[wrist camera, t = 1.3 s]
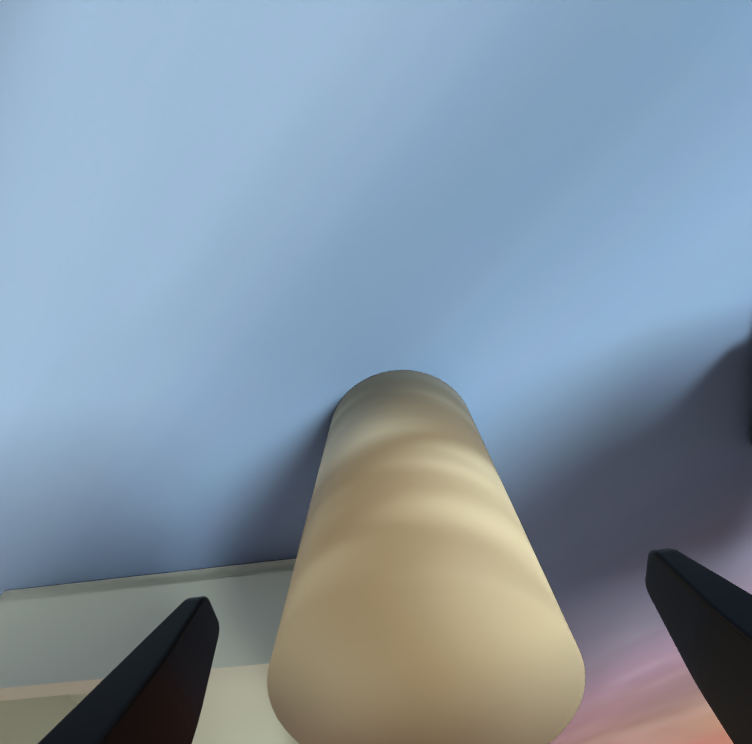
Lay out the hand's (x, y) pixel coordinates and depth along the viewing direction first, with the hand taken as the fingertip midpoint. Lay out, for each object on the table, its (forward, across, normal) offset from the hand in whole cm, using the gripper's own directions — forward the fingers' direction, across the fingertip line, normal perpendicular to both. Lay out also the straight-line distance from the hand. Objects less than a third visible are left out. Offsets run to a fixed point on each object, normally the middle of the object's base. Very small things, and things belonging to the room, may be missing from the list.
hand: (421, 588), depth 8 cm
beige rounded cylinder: (+6, 0, 0) cm, 6 cm away
